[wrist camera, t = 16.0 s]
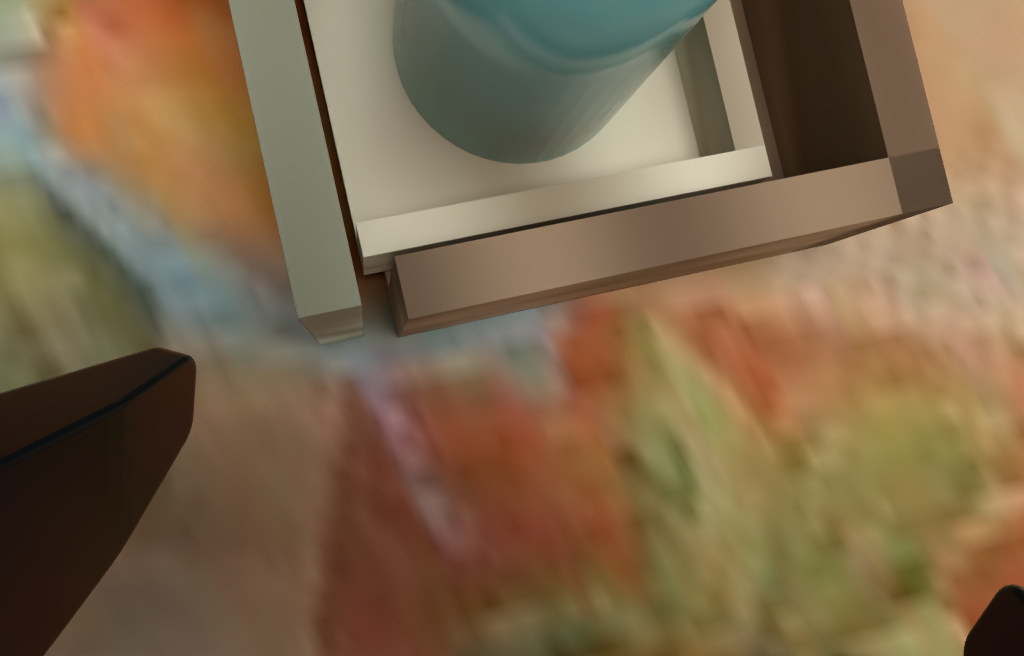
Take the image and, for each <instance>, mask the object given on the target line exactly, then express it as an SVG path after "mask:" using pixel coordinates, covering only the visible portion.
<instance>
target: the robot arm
mask: <svg viewBox="0 0 1024 656" xmlns="http://www.w3.org/2000/svg"><path fill="white" fill-rule="evenodd" d="M195 382H196V365H195V361H194V360H193V358H192V357H191V356H189V355H186V354H182V353H178V352H175V351H171V350H168V349H164V348H157V347H156V348H152V349H148V350H145V351H141V352H138V353H135V354H131V355H128V356H125V357H121V358H118V359H114V360H111V361H108V362H104V363H101V364H98V365H94V366H91V367H88V368H84V369H81V370H77V371H74V372H71V373H67V374H64V375H61V376H57V377H54V378H50V379H47V380H44V381H40V382H37V383H34V384H30V385H27V386H23V387H20V388H17V389H13V390H10V391H7V392H3V393H0V656H44V655H45V653H46V652H47V651H48V649H49V648H50V647H51V645H52V644H53V643H54V641H55V640H56V639H57V637H58V636H59V635H60V633H61V632H62V631H63V629H64V628H65V627H66V625H67V624H68V623H69V621H70V620H71V619H72V617H73V616H74V615H75V613H76V612H77V611H78V609H79V608H80V606H81V605H82V604H83V602H84V601H85V600H86V598H87V597H88V596H89V594H90V593H91V592H92V590H93V589H94V588H95V586H96V585H97V584H98V582H99V581H100V580H101V578H102V577H103V576H104V574H105V573H106V572H107V570H108V569H109V568H110V566H111V565H112V563H113V562H114V560H115V559H116V558H117V556H118V555H119V553H120V552H121V551H122V549H123V547H124V546H125V544H126V542H127V541H128V539H129V538H130V536H131V534H132V533H133V531H134V529H135V527H136V526H137V524H138V522H139V521H140V519H141V517H142V515H143V514H144V512H145V510H146V509H147V507H148V505H149V503H150V502H151V500H152V498H153V496H154V495H155V493H156V491H157V490H158V488H159V486H160V484H161V483H162V481H163V479H164V477H165V476H166V474H167V472H168V471H169V469H170V467H171V465H172V464H173V462H174V460H175V459H176V457H177V455H178V453H179V452H180V450H181V448H182V446H183V445H184V443H185V441H186V439H187V437H188V435H189V433H190V430H191V426H192V422H193V413H194V397H195ZM964 656H1024V587H1022V586H1018V585H1014V584H1012V585H1006V586H1004V587H1003V588H1001V589H1000V590H999V591H998V592H997V593H996V595H995V596H994V598H993V599H992V600H991V602H990V603H989V605H988V606H987V608H986V609H985V611H984V612H983V613H982V615H981V616H980V618H979V619H978V621H977V622H976V624H975V625H974V626H973V628H972V629H971V631H970V632H969V634H968V636H967V639H966V641H965V646H964Z"/></svg>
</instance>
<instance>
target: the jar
mask: <svg viewBox="0 0 1024 656" xmlns="http://www.w3.org/2000/svg"><path fill="white" fill-rule="evenodd" d="M716 1H717V0H395V9H394V23H393V50H394V58H395V63H396V67H397V72H398V74H399V77H400V80H401V83H402V85H403V88H404V90H405V91H406V93H407V95H408V97H409V99H410V101H411V103H412V104H413V105H414V107H415V108H416V110H417V111H418V113H419V114H420V115H421V116H422V118H423V119H424V120H425V121H426V122H427V123H428V124H429V125H430V126H431V127H432V128H433V129H434V130H435V131H436V132H437V133H439V134H440V135H441V136H442V137H443V138H445V139H446V140H448V141H449V142H451V143H452V144H454V145H455V146H457V147H459V148H461V149H463V150H465V151H467V152H469V153H471V154H473V155H476V156H479V157H482V158H484V159H488V160H492V161H497V162H502V163H513V164H528V163H538V162H543V161H549V160H552V159H555V158H558V157H561V156H564V155H566V154H568V153H570V152H572V151H574V150H576V149H578V148H579V147H581V146H582V145H584V144H585V143H587V142H588V141H590V140H591V139H592V138H593V137H594V136H595V135H596V134H598V133H599V132H600V131H601V130H602V129H603V128H604V126H605V125H606V124H607V123H608V122H609V121H610V120H611V119H612V118H613V116H614V115H615V114H616V113H617V112H618V111H619V110H620V109H621V107H622V106H623V105H624V104H625V103H626V102H627V101H628V100H629V98H630V97H631V96H632V95H633V94H634V93H635V92H636V91H637V90H638V88H639V87H640V86H641V85H642V84H643V83H644V82H645V81H646V79H647V78H648V77H649V76H650V75H651V74H652V73H653V72H654V71H655V69H656V68H657V67H658V66H659V65H660V64H661V63H662V62H663V60H664V59H665V58H666V57H667V56H668V55H669V54H670V53H671V51H672V50H673V49H674V48H675V47H676V46H677V45H678V44H679V43H680V41H681V40H682V39H683V38H684V37H685V36H686V35H687V34H688V32H689V31H690V30H691V29H692V28H693V27H694V26H695V25H696V24H697V22H698V21H699V20H700V19H701V18H702V17H703V16H704V15H705V13H706V12H707V11H708V10H709V9H710V8H711V7H712V6H713V4H714V3H715V2H716Z"/></svg>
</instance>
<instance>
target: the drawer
mask: <svg viewBox="0 0 1024 656" xmlns="http://www.w3.org/2000/svg"><path fill="white" fill-rule="evenodd" d="M228 1H229V5H230V10H231V14H232V19H233V24H234V28H235V33H236V37H237V42H238V46H239V51H240V56H241V60H242V65H243V69H244V74H245V79H246V83H247V88H248V92H249V97H250V102H251V106H252V111H253V115H254V120H255V124H256V129H257V134H258V138H259V143H260V147H261V152H262V157H263V161H264V166H265V170H266V175H267V179H268V184H269V189H270V193H271V198H272V202H273V207H274V212H275V216H276V221H277V225H278V230H279V234H280V239H281V244H282V248H283V253H284V257H285V262H286V267H287V271H288V276H289V280H290V285H291V290H292V294H293V299H294V303H295V308H296V312H297V317H298V319H299V320H300V321H301V323H302V324H303V325H304V326H305V327H306V328H307V329H308V331H309V332H310V333H311V334H312V335H313V336H314V337H315V339H316V340H317V341H318V342H319V343H320V344H321V345H323V344H327V343H332V342H337V341H341V340H346V339H351V338H355V337H360V336H363V321H362V304H361V299H360V295H359V290H358V286H357V281H356V277H355V272H354V267H353V263H352V258H351V254H350V249H349V245H348V240H347V236H346V231H345V227H344V222H343V218H342V213H341V209H340V204H339V200H338V195H337V191H336V186H335V182H334V177H333V173H332V168H331V164H330V159H329V155H328V150H327V145H326V141H325V136H324V132H323V127H322V123H321V118H320V114H319V109H318V105H317V100H316V96H315V91H314V87H313V82H312V78H311V73H310V69H309V64H308V60H307V55H306V51H305V46H304V42H303V37H302V32H301V28H300V23H299V19H298V14H297V10H296V5H295V1H294V0H228ZM303 3H304V8H305V12H306V17H307V21H308V26H309V30H310V35H311V39H312V44H313V48H314V53H315V57H316V62H317V66H318V71H319V75H320V80H321V85H322V89H323V94H324V98H325V103H326V107H327V112H328V116H329V121H330V125H331V130H332V134H333V139H334V143H335V148H336V152H337V157H338V161H339V166H340V170H341V175H342V179H343V184H344V188H345V193H346V197H347V202H348V206H349V211H350V215H351V220H352V224H353V229H354V233H355V238H356V242H357V247H358V251H359V256H360V260H361V265H362V269H363V274H364V275H368V274H373V273H378V272H383V271H388V270H392V266H393V261H394V256H399V255H404V254H409V253H414V252H419V251H424V250H429V249H434V248H439V247H444V246H449V245H454V244H459V243H464V242H469V241H474V240H479V239H484V238H489V237H494V236H499V235H504V234H509V233H514V232H519V231H524V230H529V229H534V228H539V227H544V226H549V225H554V224H559V223H564V222H569V221H574V220H579V219H584V218H589V217H594V216H599V215H604V214H609V213H614V212H619V211H624V210H629V209H634V208H639V207H644V206H649V205H654V204H659V203H664V202H669V201H674V200H679V199H684V198H689V197H694V196H699V195H704V194H709V193H714V192H719V191H724V190H729V189H734V188H739V187H744V186H749V185H754V184H759V183H760V182H762V181H764V180H766V179H768V178H770V177H771V176H772V173H771V169H770V165H769V160H768V156H767V152H766V148H765V144H764V140H763V136H762V132H761V127H760V123H759V119H758V115H757V111H756V107H755V103H754V98H753V94H752V90H751V86H750V82H749V78H748V74H747V70H746V65H745V61H744V57H743V53H742V49H741V45H740V41H739V37H738V32H737V28H736V24H735V20H734V16H733V12H732V8H731V4H730V0H717V1H716V2H715V3H714V4H713V6H712V7H711V8H710V9H709V10H708V11H707V12H706V13H705V15H704V16H703V17H702V18H701V19H700V20H699V21H698V22H697V24H696V25H695V26H694V27H693V28H692V29H691V30H690V31H689V32H688V34H687V35H686V36H685V37H684V38H683V39H682V40H681V41H680V43H679V44H678V45H677V46H676V47H675V48H674V49H673V50H672V51H671V53H670V54H669V55H668V56H667V57H666V58H665V59H664V60H663V62H662V63H661V64H660V65H659V66H658V67H657V68H656V69H655V71H654V72H653V73H652V74H651V75H650V76H649V77H648V78H647V79H646V81H645V82H644V83H643V84H642V85H641V86H640V87H639V88H638V90H637V91H636V92H635V93H634V94H633V95H632V96H631V97H630V98H629V100H628V101H627V102H626V103H625V104H624V105H623V106H622V107H621V109H620V110H619V111H618V112H617V113H616V114H615V115H614V116H613V118H612V119H611V120H610V121H609V122H608V123H607V124H606V125H605V126H604V128H603V129H602V130H601V131H600V132H599V133H598V134H596V135H595V136H594V137H593V138H592V139H591V140H590V141H588V142H587V143H585V144H584V145H582V146H581V147H579V148H578V149H576V150H574V151H572V152H570V153H568V154H566V155H564V156H561V157H558V158H555V159H552V160H549V161H543V162H538V163H528V164H513V163H502V162H497V161H492V160H488V159H484V158H482V157H479V156H476V155H473V154H471V153H469V152H467V151H465V150H463V149H461V148H459V147H457V146H455V145H454V144H452V143H451V142H449V141H448V140H446V139H445V138H443V137H442V136H441V135H440V134H439V133H437V132H436V131H435V130H434V129H433V128H432V127H431V126H430V125H429V124H428V123H427V122H426V121H425V120H424V119H423V118H422V116H421V115H420V114H419V113H418V111H417V110H416V108H415V107H414V105H413V104H412V103H411V101H410V99H409V97H408V95H407V93H406V91H405V90H404V88H403V85H402V83H401V80H400V77H399V74H398V72H397V67H396V63H395V58H394V50H393V23H394V9H395V0H303Z"/></svg>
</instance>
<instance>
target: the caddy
mask: <svg viewBox="0 0 1024 656" xmlns="http://www.w3.org/2000/svg"><path fill="white" fill-rule="evenodd" d="M730 4H731V8H732V12H733V16H734V20H735V24H736V28H737V32H738V37H739V41H740V45H741V49H742V53H743V57H744V61H745V65H746V70H747V74H748V78H749V82H750V86H751V90H752V94H753V98H754V103H755V107H756V111H757V115H758V119H759V123H760V127H761V132H762V136H763V140H764V144H765V148H766V152H767V156H768V160H769V165H770V169H771V173H772V176H771V177H770V178H768V179H766V180H764V181H762V182H760V183H759V184H754V185H749V186H744V187H739V188H734V189H729V190H724V191H719V192H714V193H709V194H704V195H699V196H694V197H689V198H684V199H679V200H674V201H669V202H664V203H659V204H654V205H649V206H644V207H639V208H634V209H629V210H624V211H619V212H614V213H609V214H604V215H599V216H594V217H589V218H584V219H579V220H574V221H569V222H564V223H559V224H554V225H549V226H544V227H539V228H534V229H529V230H524V231H519V232H514V233H509V234H504V235H499V236H494V237H489V238H484V239H479V240H474V241H469V242H464V243H459V244H454V245H449V246H444V247H439V248H434V249H429V250H424V251H419V252H414V253H409V254H404V255H399V256H394V261H393V266H392V270H388V271H384V275H385V279H386V284H387V288H388V293H389V297H390V302H391V306H392V311H393V315H394V320H395V324H396V329H397V333H398V337H403V336H408V335H412V334H417V333H421V332H426V331H431V330H435V329H440V328H444V327H449V326H454V325H458V324H463V323H467V322H472V321H477V320H481V319H486V318H490V317H495V316H500V315H504V314H509V313H514V312H518V311H523V310H527V309H532V308H537V307H541V306H546V305H550V304H555V303H560V302H564V301H569V300H573V299H578V298H583V297H587V296H592V295H596V294H601V293H606V292H610V291H615V290H619V289H624V288H629V287H633V286H638V285H642V284H647V283H652V282H656V281H661V280H665V279H670V278H675V277H679V276H684V275H688V274H693V273H698V272H702V271H707V270H711V269H716V268H721V267H725V266H730V265H735V264H739V263H744V262H748V261H753V260H758V259H762V258H767V257H771V256H776V255H781V254H785V253H790V252H794V251H799V250H804V249H808V248H813V247H817V246H822V245H827V244H830V243H833V242H836V241H839V240H842V239H845V238H848V237H851V236H854V235H857V234H860V233H863V232H866V231H869V230H872V229H875V228H878V227H881V226H884V225H887V224H890V223H894V222H897V221H900V220H903V219H906V218H909V217H912V216H915V215H918V214H921V213H924V212H927V211H930V210H933V209H936V208H939V207H942V206H945V205H948V204H951V203H953V201H952V197H951V193H950V189H949V185H948V181H947V177H946V173H945V169H944V165H943V161H942V157H941V153H940V149H939V145H938V141H937V137H936V133H935V129H934V125H933V121H932V117H931V113H930V109H929V105H928V101H927V97H926V93H925V90H924V86H923V82H922V78H921V74H920V70H919V66H918V62H917V58H916V54H915V50H914V46H913V42H912V38H911V34H910V30H909V26H908V22H907V18H906V14H905V10H904V6H903V2H902V0H730Z"/></svg>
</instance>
